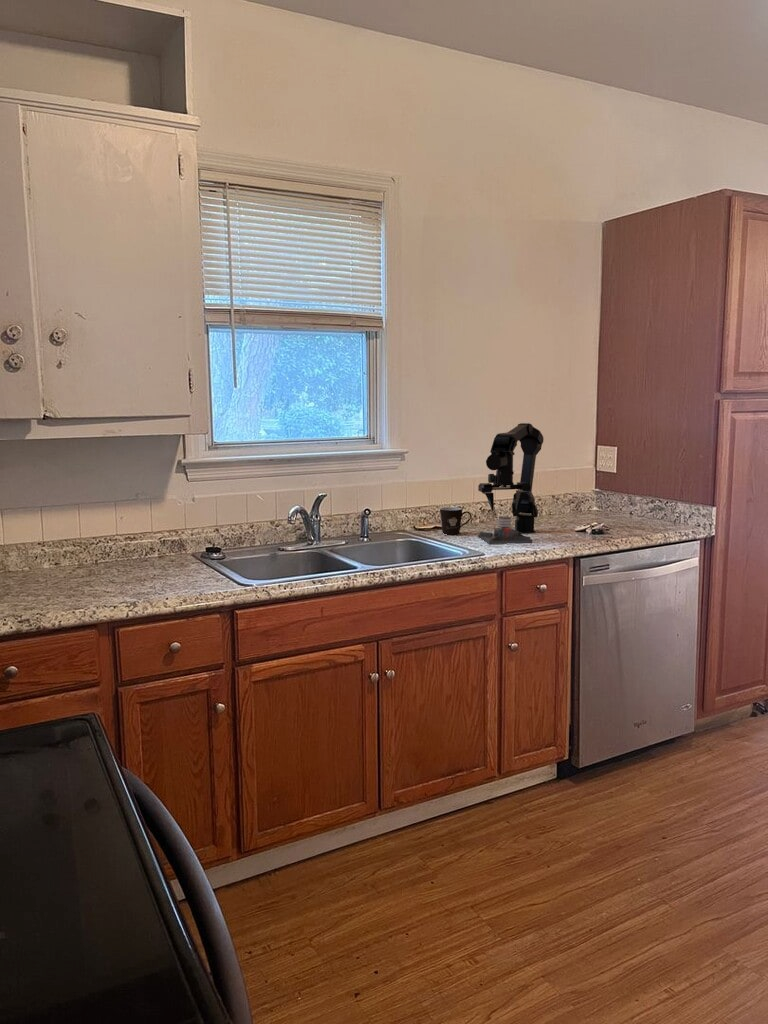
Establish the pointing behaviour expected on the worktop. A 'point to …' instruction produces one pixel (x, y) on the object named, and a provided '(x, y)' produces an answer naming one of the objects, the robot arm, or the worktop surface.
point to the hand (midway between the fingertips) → (504, 510)
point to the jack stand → (504, 536)
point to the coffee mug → (452, 520)
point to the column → (504, 522)
